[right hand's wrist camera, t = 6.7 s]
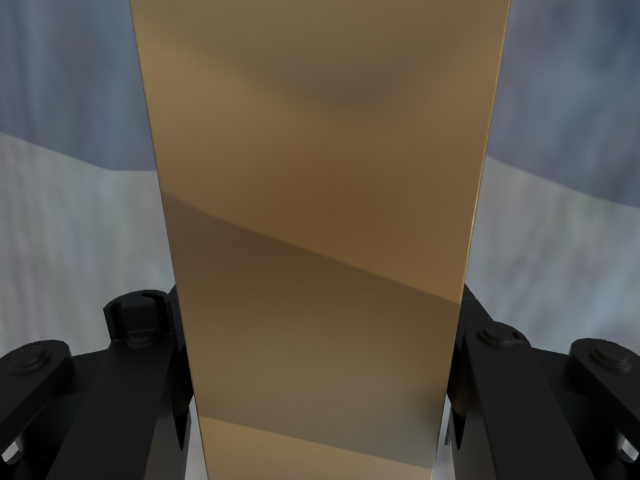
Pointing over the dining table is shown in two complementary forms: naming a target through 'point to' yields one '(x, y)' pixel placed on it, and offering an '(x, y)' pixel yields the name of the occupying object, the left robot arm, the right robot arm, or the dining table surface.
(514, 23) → the dining table surface
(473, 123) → the bar
